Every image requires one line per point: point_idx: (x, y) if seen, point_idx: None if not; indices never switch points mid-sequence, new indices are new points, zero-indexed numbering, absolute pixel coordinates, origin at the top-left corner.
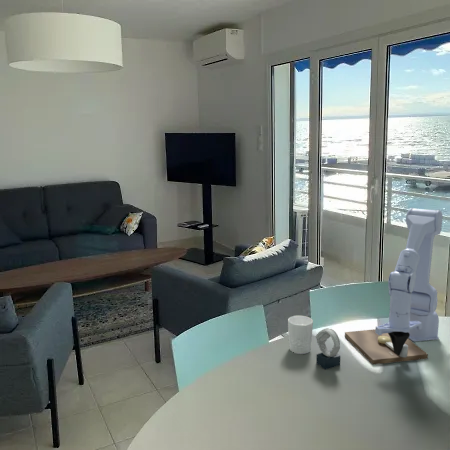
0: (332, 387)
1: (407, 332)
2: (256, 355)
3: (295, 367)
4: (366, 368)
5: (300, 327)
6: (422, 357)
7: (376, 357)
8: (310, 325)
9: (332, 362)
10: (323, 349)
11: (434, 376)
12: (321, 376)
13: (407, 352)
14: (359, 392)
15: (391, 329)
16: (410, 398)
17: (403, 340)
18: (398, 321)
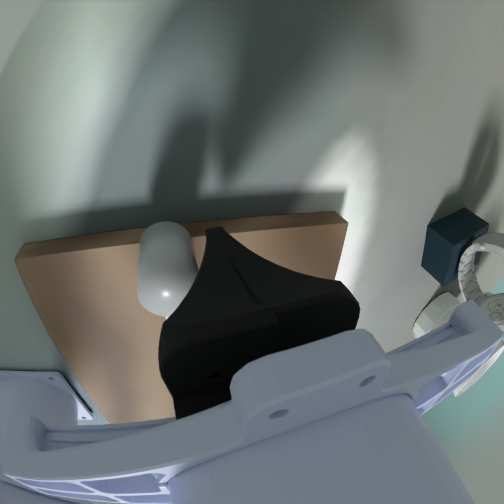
0: (495, 113)
1: (177, 386)
2: (488, 283)
3: (488, 231)
4: (376, 184)
5: (501, 340)
6: (45, 245)
7: (317, 245)
8: None
9: (462, 224)
10: (470, 277)
11: (71, 38)
12: (485, 175)
13: (143, 247)
14: (467, 51)
15: (455, 357)
16: None
17: (228, 289)
18: (453, 483)
